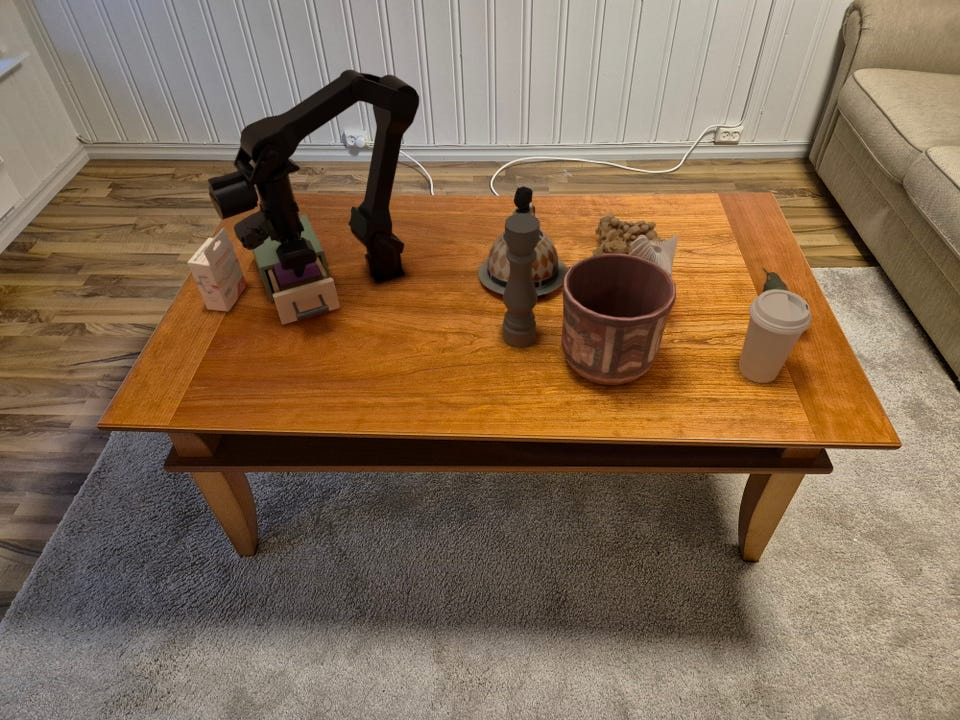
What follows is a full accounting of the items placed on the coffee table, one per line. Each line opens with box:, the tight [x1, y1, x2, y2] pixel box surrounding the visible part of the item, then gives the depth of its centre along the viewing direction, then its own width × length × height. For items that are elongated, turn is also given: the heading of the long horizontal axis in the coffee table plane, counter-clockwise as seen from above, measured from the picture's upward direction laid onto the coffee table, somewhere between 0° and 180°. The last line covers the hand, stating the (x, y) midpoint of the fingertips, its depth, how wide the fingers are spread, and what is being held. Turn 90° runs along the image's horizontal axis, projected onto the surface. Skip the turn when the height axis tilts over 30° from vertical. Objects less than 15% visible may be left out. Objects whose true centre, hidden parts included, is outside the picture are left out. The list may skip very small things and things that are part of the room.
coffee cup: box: [738, 289, 812, 384], centre depth 111 cm, size 10×10×15 cm
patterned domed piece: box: [477, 185, 568, 299], centre depth 130 cm, size 18×18×20 cm
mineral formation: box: [592, 213, 667, 259], centre depth 138 cm, size 8×13×15 cm
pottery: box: [560, 254, 677, 386], centre depth 112 cm, size 18×18×18 cm
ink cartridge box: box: [186, 227, 248, 312], centre depth 128 cm, size 9×5×15 cm, turn 168°
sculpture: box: [761, 267, 790, 293], centre depth 126 cm, size 5×19×5 cm, turn 3°
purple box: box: [274, 262, 320, 286], centre depth 125 cm, size 8×4×2 cm, turn 115°
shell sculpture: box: [629, 234, 679, 279], centre depth 122 cm, size 8×8×18 cm
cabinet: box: [251, 214, 331, 303], centre depth 136 cm, size 15×13×9 cm
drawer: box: [267, 256, 341, 325], centre depth 128 cm, size 18×11×7 cm, turn 25°
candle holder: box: [502, 213, 541, 349], centre depth 115 cm, size 6×6×25 cm
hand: (297, 270), depth 125 cm, fingers closed on purple box, 4 cm apart
